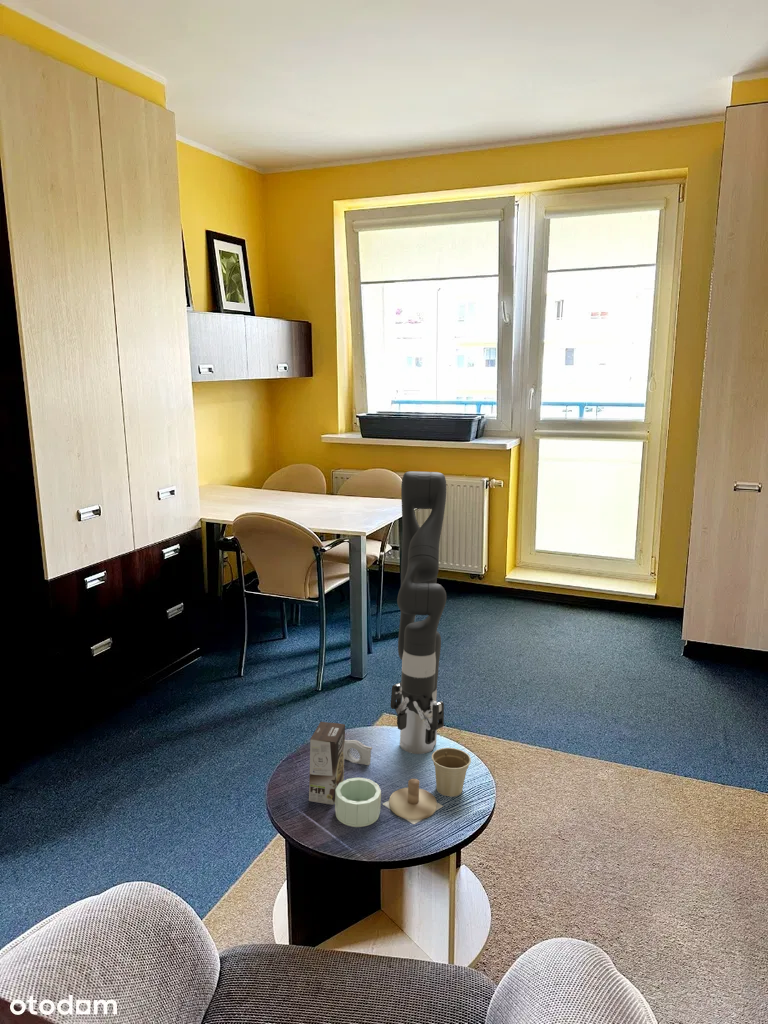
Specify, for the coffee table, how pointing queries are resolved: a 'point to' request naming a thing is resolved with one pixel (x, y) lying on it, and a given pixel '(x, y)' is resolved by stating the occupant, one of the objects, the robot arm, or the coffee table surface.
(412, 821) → the mat
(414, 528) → the robot arm
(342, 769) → the coffee box
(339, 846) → the coffee table surface
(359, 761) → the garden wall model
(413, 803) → the lid
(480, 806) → the coffee table surface
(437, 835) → the coffee table surface
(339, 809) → the bowl
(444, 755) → the flower pot
